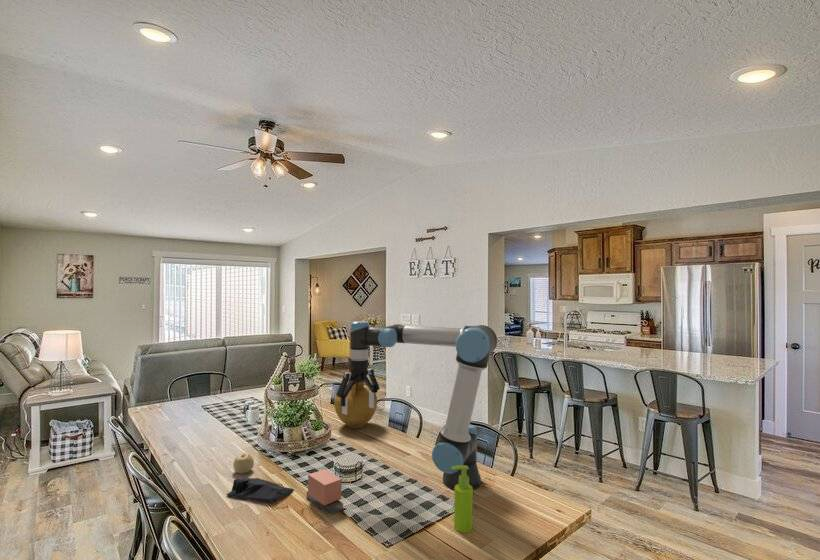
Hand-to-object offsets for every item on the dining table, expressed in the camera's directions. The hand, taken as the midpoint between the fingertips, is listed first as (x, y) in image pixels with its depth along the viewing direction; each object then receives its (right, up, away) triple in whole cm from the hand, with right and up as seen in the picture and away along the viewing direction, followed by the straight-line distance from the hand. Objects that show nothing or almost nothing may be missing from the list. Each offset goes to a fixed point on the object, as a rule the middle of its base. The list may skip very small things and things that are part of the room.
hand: (358, 410), depth 178 cm
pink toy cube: (-10, -26, -22) cm, 36 cm away
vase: (-9, -27, +62) cm, 68 cm away
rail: (-10, -26, -22) cm, 36 cm away
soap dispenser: (+38, -27, -37) cm, 60 cm away
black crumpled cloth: (-35, -27, -15) cm, 47 cm away
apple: (-48, -26, +3) cm, 55 cm away
